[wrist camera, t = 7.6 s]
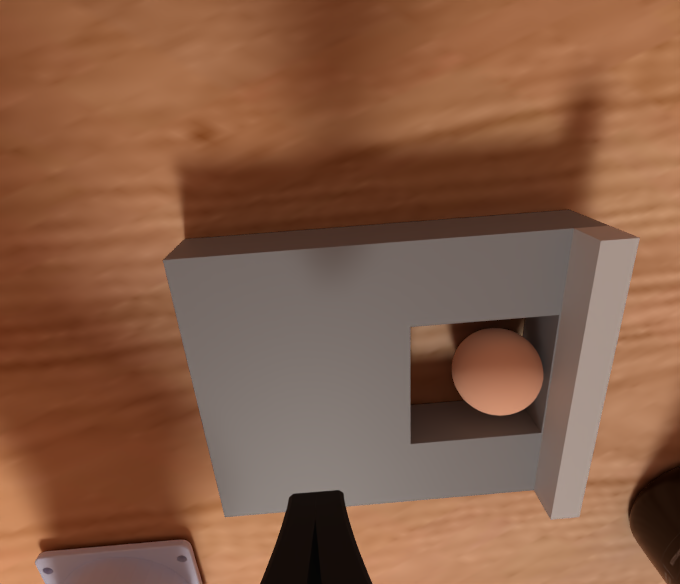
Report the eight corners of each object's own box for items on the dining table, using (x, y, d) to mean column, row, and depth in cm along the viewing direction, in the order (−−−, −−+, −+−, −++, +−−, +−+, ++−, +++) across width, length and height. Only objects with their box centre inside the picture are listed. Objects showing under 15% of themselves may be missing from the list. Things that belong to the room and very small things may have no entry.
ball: (549, 411, 18) (498, 448, 16) (480, 370, 20) (429, 397, 19) (571, 340, 16) (517, 372, 14) (493, 305, 19) (439, 327, 17)
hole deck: (534, 447, 21) (579, 517, 18) (235, 473, 21) (217, 549, 18) (569, 209, 17) (639, 237, 13) (184, 239, 16) (146, 276, 13)
